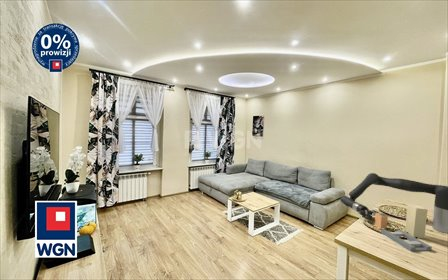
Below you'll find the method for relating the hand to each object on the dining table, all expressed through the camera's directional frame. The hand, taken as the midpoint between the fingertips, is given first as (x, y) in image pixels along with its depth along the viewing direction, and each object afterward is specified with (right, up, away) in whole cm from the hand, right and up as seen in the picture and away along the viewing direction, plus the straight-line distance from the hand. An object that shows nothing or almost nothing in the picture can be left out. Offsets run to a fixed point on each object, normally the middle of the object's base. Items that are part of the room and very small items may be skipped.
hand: (376, 217), depth 143 cm
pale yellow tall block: (+17, -7, -13) cm, 22 cm away
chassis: (+1, -7, -20) cm, 22 cm away
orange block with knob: (0, -6, -3) cm, 7 cm away
